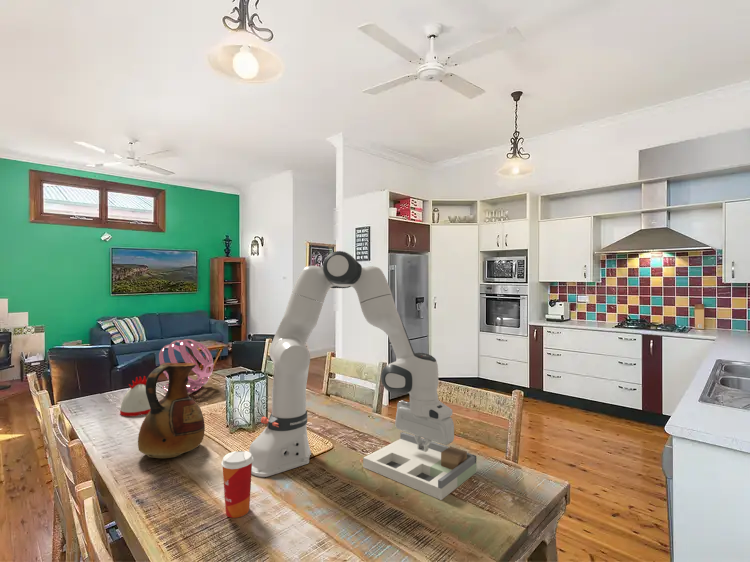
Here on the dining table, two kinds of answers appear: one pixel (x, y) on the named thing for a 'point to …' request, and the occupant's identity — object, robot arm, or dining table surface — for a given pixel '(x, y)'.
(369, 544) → the dining table surface
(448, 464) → the walnut block
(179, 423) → the ceramic pitcher
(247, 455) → the paper cup
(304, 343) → the robot arm
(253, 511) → the dining table surface
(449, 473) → the tray
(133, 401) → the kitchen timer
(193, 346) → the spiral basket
